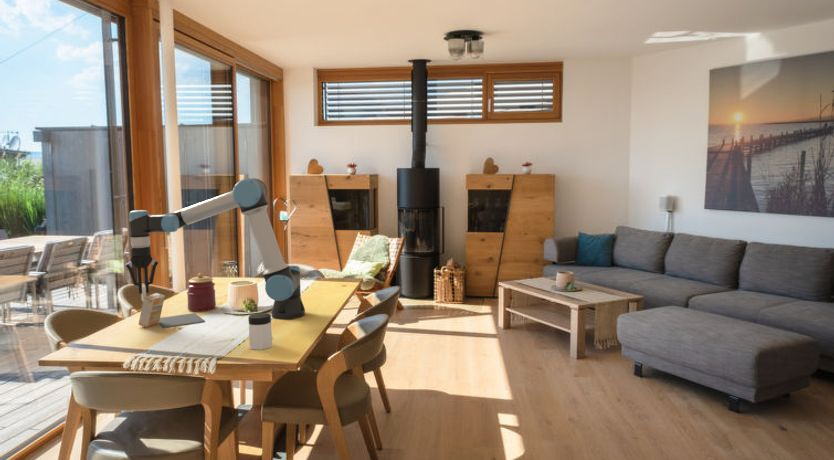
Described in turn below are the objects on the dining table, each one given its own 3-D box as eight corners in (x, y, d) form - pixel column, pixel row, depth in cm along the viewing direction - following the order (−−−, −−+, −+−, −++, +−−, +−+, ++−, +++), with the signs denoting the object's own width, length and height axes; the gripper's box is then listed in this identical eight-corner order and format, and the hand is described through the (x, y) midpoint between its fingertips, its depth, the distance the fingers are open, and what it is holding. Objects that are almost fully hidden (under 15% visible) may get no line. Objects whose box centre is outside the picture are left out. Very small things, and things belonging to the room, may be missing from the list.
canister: (214, 304, 292) (212, 269, 291) (217, 310, 281) (215, 273, 279) (186, 307, 287) (184, 272, 285) (188, 313, 275) (186, 276, 273)
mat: (205, 321, 259) (205, 320, 258) (164, 328, 249) (163, 326, 249) (194, 314, 273) (194, 312, 273) (155, 319, 264) (155, 318, 264)
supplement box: (147, 328, 249) (153, 299, 248) (137, 324, 250) (143, 296, 248) (159, 323, 258) (165, 295, 256) (150, 319, 258) (155, 292, 256)
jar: (264, 341, 227) (263, 311, 226) (277, 345, 222) (276, 314, 220) (244, 347, 220) (243, 316, 219) (257, 351, 215) (255, 319, 214)
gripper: (155, 244, 256) (158, 297, 259) (122, 246, 249) (126, 301, 251) (158, 246, 250) (162, 300, 253) (125, 248, 243) (128, 304, 245)
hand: (144, 300), depth 252 cm, fingers closed
